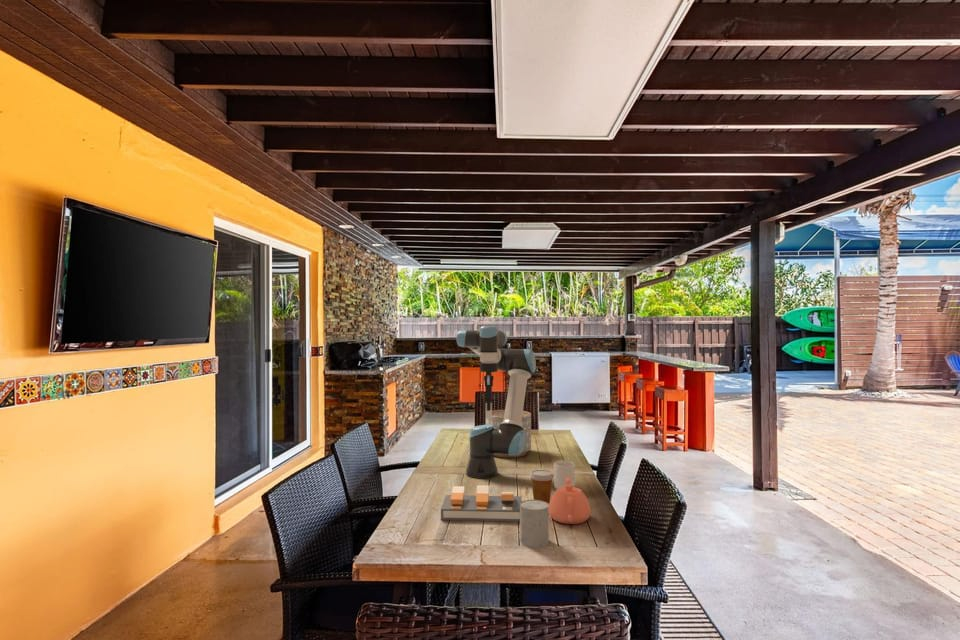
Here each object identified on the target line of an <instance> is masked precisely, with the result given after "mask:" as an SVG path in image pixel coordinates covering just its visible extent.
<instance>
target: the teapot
mask: <svg viewBox="0 0 960 640" xmlns="http://www.w3.org/2000/svg"><path fill="white" fill-rule="evenodd" d="M591 511H592V510H591V505H590V501H589V499H588V498H587V496H586V494H585V493H584V492H583V490H582V489H581V488H578V487H576V486H575V487H574V485H572V484H570V479H569V477H566V483H565V487H560V488H558V489H555V491H554V493H553V494H552V496H551V497H550V503H549V507H548V515H549V516H550V517H551V518H552V519H553V520H554V521H555V522H558V523H562V524H566V525H578V524H583V523H585V522H587V520H589V518H590V517H591V515H592V514H591V513H592V512H591Z"/></svg>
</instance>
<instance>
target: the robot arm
mask: <svg viewBox="0 0 960 640" xmlns="http://www.w3.org/2000/svg"><path fill="white" fill-rule="evenodd" d="M455 338H456V344H457V346H458V347H461V348H468V349H470V350H471V351H472V352H474V353H475V354H476V355H478V357H479V362H480V364H479V371H480V372H482V373H485V375H484V376H483V380H484V387H485V399H484V401H483V403H484V404H485V419H486V418H492V411H493V403H494V400H493V394H492V393H493V392H492V391H493V386H494V375H492V373H496V372H498V371H501V372H507V374H508V375H509V376H510V377H509V382H508V383H509V384H508V389H507V397H506V402H505V407H504V408H505V409H504V410H505V414H504V420H503V422H502V423H500V425H499V429H494V425H486V424H480V425H475V426H472V427H471V428H470V430H469V459H468V460H469V461H468V464H467V467H466V469H465V471H466V472H465V473H466V475H467V476H468V477H470V478H474V479H489V478H495V477H496V476H498V473H499V472H498V471H499V470H498V467H497V464H496V463H497V462H496V460H495V456H494V454H504V455H510V456H511V455H520V454H521V453H522V452H523V450H524V447H525V444H526V432H525V431H523V427H522V425H521V420H522V413H523V411H524V405H525V404H524V403H525V397H526V390H527V384H528V379H530V378H531V376H532V374H533V373H535V372H536V371H537V370H536V369H537V362H536V355H535V353H534V350H532V349H530V348H529V349H527V348H502V347H503V346H505V345H506V343H507V342H508V336H507V334H506V332H505V331H503V330H500V329H498V327H497V326H496V325H491V326H489V325H487V326H485V325H483V326H481V327H480V330H479V329H478V330H471V329H469V330H468V329H464V330H459V331H458V332H457V334H456V337H455Z"/></svg>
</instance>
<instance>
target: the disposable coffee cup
mask: <svg viewBox="0 0 960 640" xmlns="http://www.w3.org/2000/svg"><path fill="white" fill-rule="evenodd" d="M529 477H530V479H531V488H532V497H533V500H541V501H544V502H546V503H548V504H549V503H550V500H551V493H552V484H553V480H554V474H553V472H552V471H550V470H548V469H535V470H532V471H531V472H530V474H529Z"/></svg>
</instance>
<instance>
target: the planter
mask: <svg viewBox="0 0 960 640" xmlns="http://www.w3.org/2000/svg"><path fill="white" fill-rule="evenodd" d="M504 414H505V409H496V410H492V418H486V417H485V425H494V429H499V425H500V423H502V422H503V420H504ZM521 425H522V427H523V431H525V432H526V444H525V447H524V450H523V452H522V453H521V454H520V455H511V456H510V455H504V454H494V457H499V458H519V457H524V456H526V455H527V452H529V451H531V449H532V413H531V412H529V411H526V410H523V413H522V420H521Z"/></svg>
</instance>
